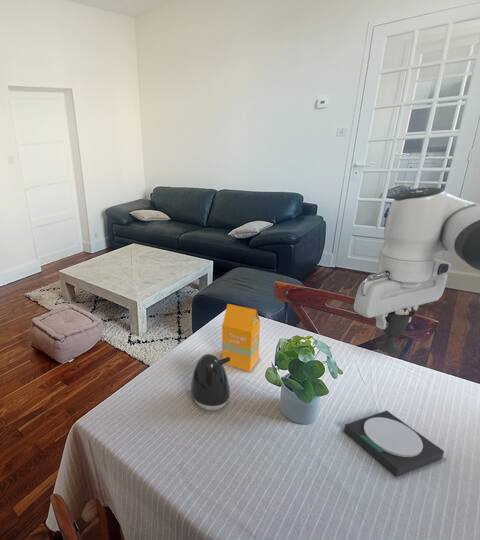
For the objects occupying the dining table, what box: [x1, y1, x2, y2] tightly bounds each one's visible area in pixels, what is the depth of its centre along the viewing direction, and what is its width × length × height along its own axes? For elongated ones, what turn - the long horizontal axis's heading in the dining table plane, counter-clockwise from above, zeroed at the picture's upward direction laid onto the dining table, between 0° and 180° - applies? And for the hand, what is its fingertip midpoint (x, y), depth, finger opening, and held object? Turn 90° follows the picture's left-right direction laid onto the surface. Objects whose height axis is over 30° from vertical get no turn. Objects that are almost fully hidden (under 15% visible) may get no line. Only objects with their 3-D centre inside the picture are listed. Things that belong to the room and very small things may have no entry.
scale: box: [343, 410, 445, 478], centre depth 73 cm, size 12×12×4 cm
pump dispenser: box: [190, 353, 231, 412], centre depth 89 cm, size 10×10×15 cm
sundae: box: [374, 307, 417, 355], centre depth 75 cm, size 7×7×15 cm
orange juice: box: [221, 303, 261, 372], centre depth 103 cm, size 8×9×20 cm
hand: (392, 324), depth 75 cm, fingers closed on sundae, 5 cm apart
